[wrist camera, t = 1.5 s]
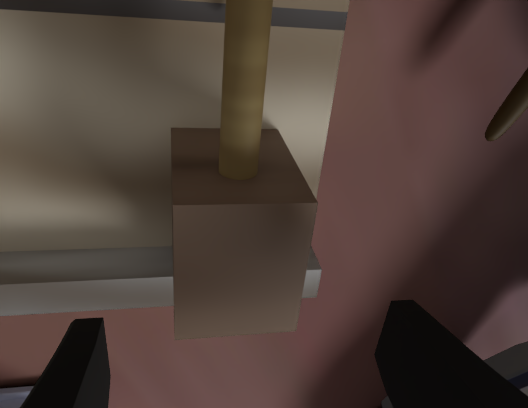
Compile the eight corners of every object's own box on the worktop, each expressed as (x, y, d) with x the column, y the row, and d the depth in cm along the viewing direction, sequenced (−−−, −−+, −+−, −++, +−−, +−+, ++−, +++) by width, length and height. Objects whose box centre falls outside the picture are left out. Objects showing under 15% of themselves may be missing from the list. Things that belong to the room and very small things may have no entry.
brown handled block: (265, 237, 20) (296, 330, 15) (172, 240, 19) (174, 340, 15) (293, -15, 15) (350, 12, 10) (168, -25, 14) (170, -1, 10)
